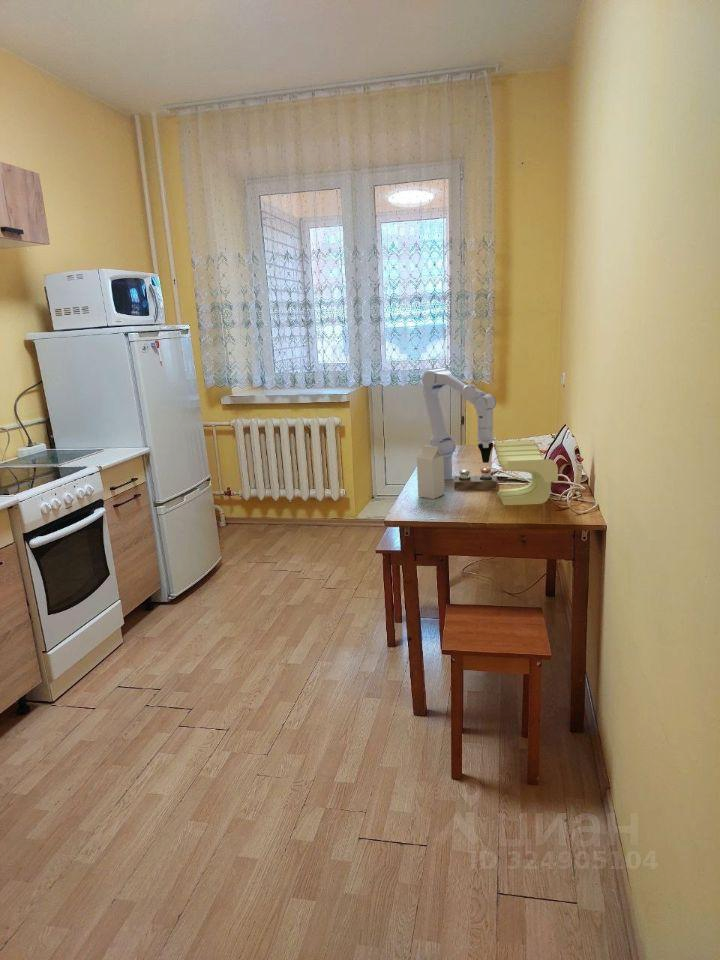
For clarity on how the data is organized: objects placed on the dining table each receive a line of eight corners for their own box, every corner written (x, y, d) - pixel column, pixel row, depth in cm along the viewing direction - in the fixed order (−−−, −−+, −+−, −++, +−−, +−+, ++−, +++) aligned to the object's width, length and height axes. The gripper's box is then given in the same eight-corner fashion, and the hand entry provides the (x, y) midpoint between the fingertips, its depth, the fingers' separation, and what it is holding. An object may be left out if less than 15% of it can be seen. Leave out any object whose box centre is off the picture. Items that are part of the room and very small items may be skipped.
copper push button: (480, 481, 225) (480, 470, 224) (480, 478, 229) (480, 467, 228) (491, 481, 224) (491, 470, 223) (491, 478, 228) (491, 467, 227)
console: (454, 489, 226) (453, 481, 225) (454, 483, 233) (454, 476, 233) (496, 488, 223) (496, 481, 222) (496, 483, 230) (496, 475, 229)
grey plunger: (459, 482, 227) (459, 472, 226) (459, 480, 231) (459, 469, 229) (469, 482, 226) (469, 471, 225) (470, 479, 230) (469, 469, 229)
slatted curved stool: (556, 511, 194) (558, 458, 190) (507, 513, 196) (507, 461, 191) (537, 485, 223) (538, 439, 218) (495, 487, 225) (494, 441, 220)
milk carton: (433, 499, 215) (431, 448, 210) (418, 496, 220) (416, 446, 215) (444, 494, 220) (443, 444, 215) (429, 491, 225) (427, 443, 220)
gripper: (496, 430, 213) (497, 466, 217) (495, 423, 227) (496, 457, 231) (477, 431, 215) (477, 467, 218) (477, 423, 228) (477, 457, 232)
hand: (485, 462), depth 225 cm, fingers closed
